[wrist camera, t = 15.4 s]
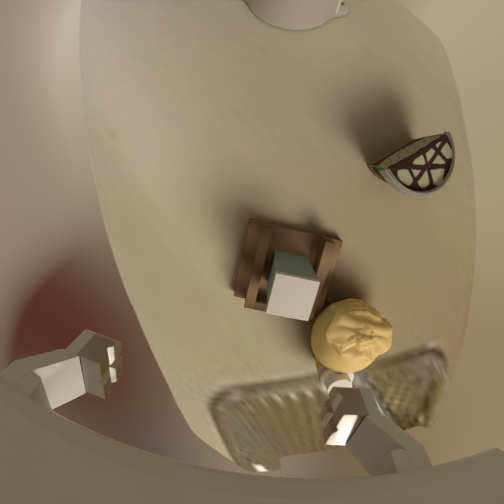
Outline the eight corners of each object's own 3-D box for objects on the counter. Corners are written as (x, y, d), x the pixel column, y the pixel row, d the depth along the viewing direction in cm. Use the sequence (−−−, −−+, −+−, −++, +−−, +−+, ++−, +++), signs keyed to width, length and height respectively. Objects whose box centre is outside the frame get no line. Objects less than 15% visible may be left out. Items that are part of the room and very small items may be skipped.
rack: (249, 218, 42) (247, 224, 38) (340, 238, 43) (347, 246, 38) (234, 292, 46) (231, 304, 42) (319, 308, 46) (323, 322, 42)
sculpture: (384, 299, 45) (409, 330, 35) (354, 355, 48) (370, 393, 38) (325, 280, 45) (341, 311, 34) (297, 341, 48) (304, 381, 37)
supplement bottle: (349, 343, 48) (364, 379, 38) (334, 367, 49) (346, 403, 39) (322, 336, 47) (333, 372, 38) (308, 360, 49) (315, 397, 39)
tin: (274, 249, 42) (276, 273, 32) (308, 256, 42) (320, 282, 32) (266, 281, 43) (265, 313, 34) (299, 288, 44) (307, 321, 34)
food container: (378, 205, 41) (406, 216, 31) (359, 170, 40) (385, 171, 30) (434, 169, 39) (470, 172, 29) (418, 136, 37) (452, 130, 28)
